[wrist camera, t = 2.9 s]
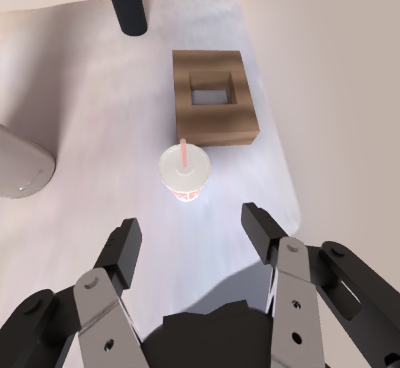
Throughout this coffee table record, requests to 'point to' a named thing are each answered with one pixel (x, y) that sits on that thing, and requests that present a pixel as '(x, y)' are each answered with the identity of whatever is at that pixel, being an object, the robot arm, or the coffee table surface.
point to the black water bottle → (131, 16)
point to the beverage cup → (184, 170)
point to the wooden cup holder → (213, 114)
